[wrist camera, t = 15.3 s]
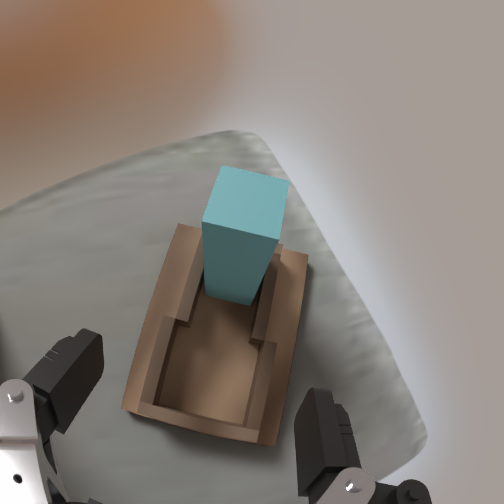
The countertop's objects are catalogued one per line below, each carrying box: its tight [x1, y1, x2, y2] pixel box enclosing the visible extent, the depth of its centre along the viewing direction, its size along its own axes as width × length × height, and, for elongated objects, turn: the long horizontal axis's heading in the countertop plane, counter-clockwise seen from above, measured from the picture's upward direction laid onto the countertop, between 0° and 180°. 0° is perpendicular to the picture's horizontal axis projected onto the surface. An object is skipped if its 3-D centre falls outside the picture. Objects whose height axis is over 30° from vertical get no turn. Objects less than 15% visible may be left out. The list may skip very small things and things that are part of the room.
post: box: [202, 165, 289, 306], centre depth 21 cm, size 4×4×12 cm
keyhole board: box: [121, 224, 308, 446], centre depth 24 cm, size 13×18×4 cm
